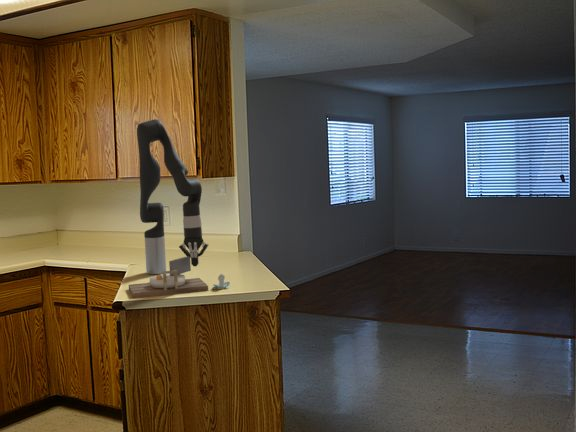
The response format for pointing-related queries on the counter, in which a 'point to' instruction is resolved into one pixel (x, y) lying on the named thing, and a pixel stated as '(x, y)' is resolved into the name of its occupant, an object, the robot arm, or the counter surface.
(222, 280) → the pacifier
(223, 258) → the counter surface
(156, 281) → the cam foot
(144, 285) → the stand
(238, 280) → the counter surface
